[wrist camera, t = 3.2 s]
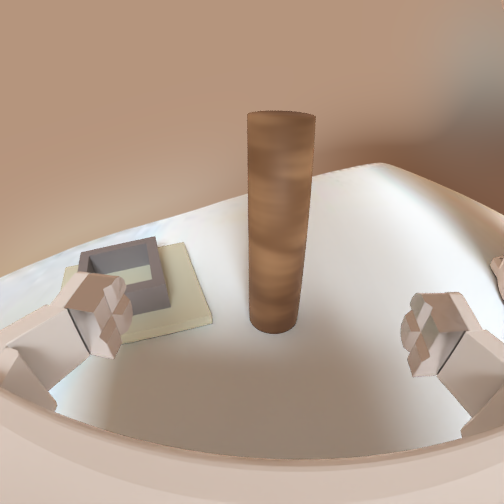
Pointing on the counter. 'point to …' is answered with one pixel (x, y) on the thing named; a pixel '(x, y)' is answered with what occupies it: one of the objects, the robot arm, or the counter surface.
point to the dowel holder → (151, 286)
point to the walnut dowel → (278, 214)
